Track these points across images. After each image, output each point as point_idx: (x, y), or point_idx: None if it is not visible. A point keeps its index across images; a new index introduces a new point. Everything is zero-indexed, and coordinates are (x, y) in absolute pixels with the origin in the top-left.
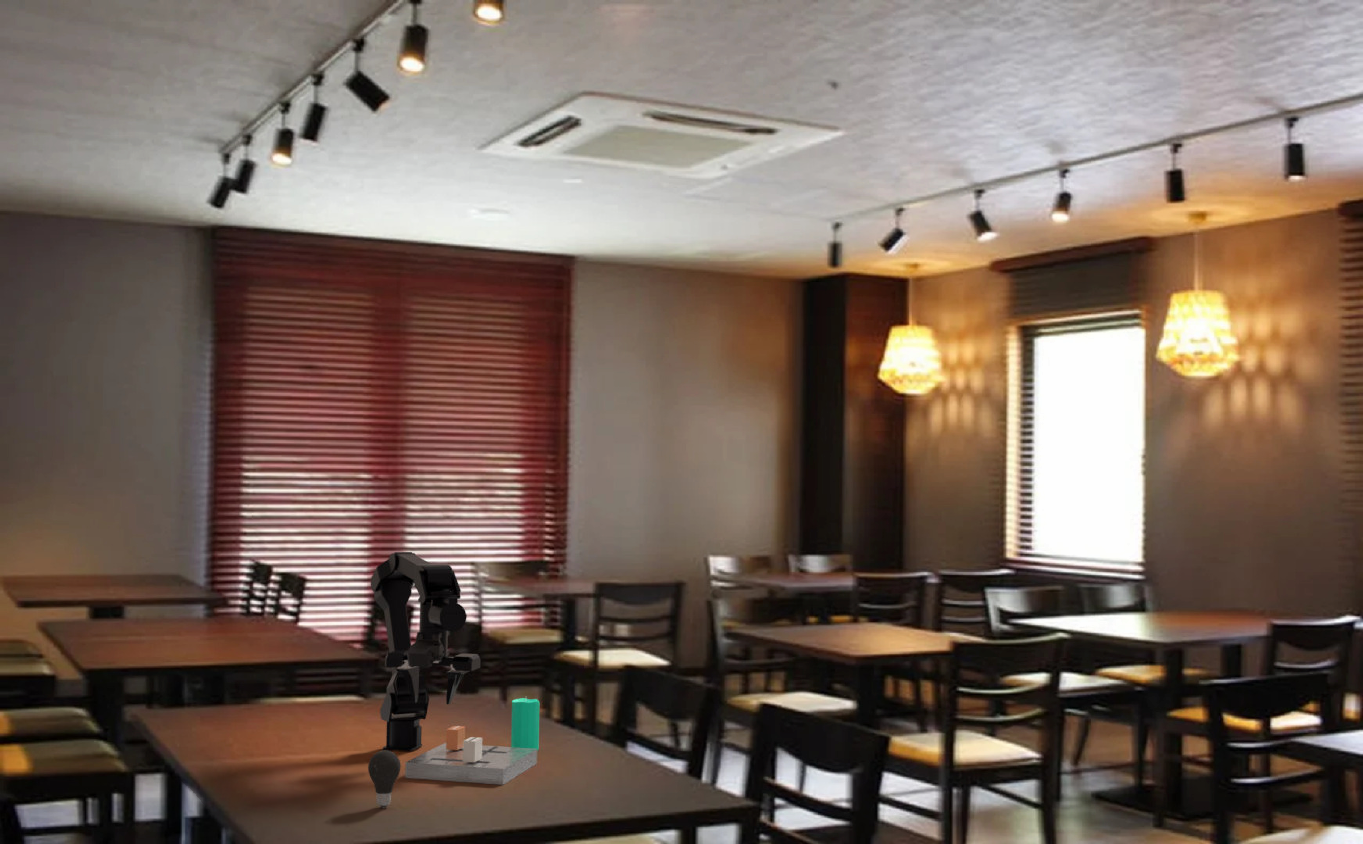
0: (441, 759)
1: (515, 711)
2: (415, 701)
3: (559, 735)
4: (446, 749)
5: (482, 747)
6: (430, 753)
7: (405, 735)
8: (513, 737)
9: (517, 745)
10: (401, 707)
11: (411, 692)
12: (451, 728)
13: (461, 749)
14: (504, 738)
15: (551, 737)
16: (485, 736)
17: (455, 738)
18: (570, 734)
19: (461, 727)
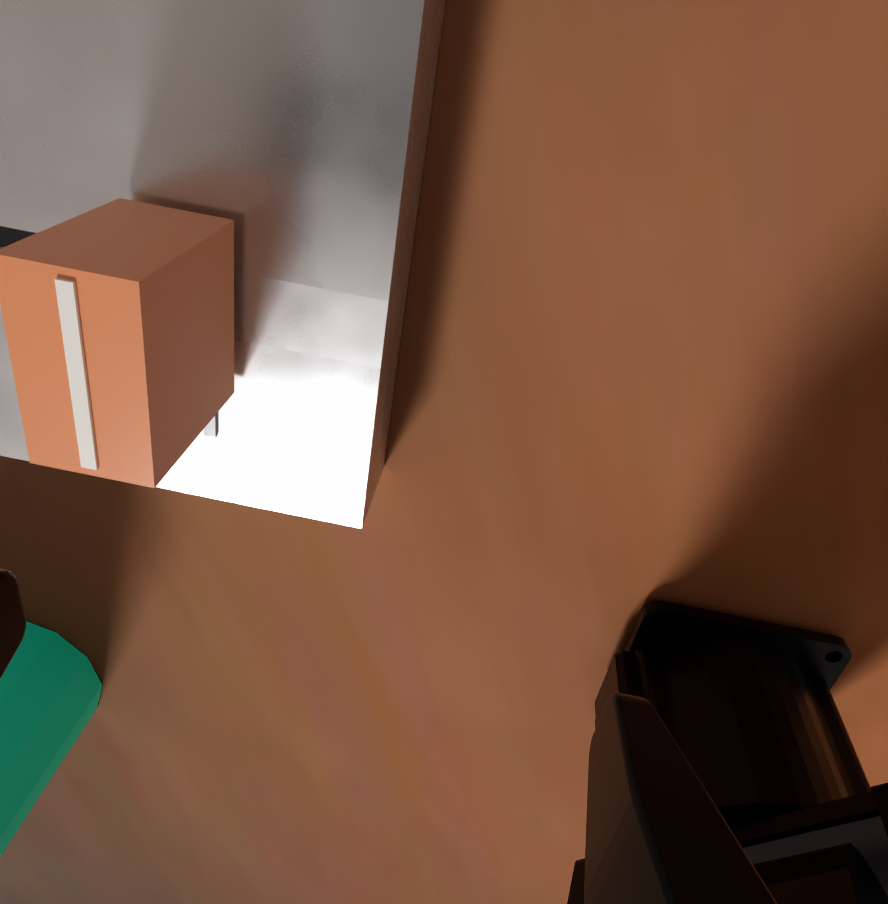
0: None
1: None
2: (610, 709)
3: (40, 883)
4: (259, 282)
5: (14, 391)
6: (345, 52)
7: (706, 708)
8: (20, 702)
9: None
10: (813, 894)
11: (729, 875)
12: (110, 346)
13: None
14: (234, 853)
15: (51, 859)
16: (331, 883)
17: (79, 232)
18: (10, 893)
19: (38, 415)
